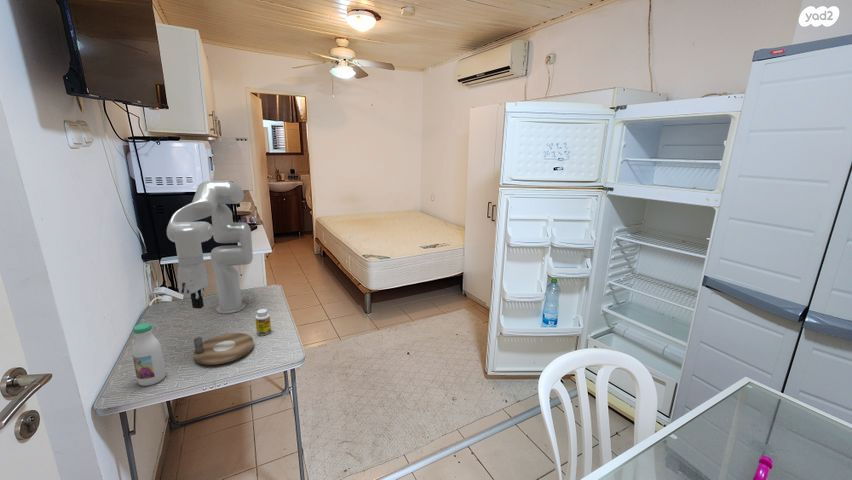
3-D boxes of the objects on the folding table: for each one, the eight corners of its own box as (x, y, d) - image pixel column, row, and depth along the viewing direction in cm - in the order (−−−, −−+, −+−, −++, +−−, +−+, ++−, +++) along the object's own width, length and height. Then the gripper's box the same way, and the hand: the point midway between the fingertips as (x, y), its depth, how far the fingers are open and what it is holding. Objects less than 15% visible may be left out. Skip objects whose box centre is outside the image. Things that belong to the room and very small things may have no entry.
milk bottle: (157, 370, 124) (147, 318, 120) (171, 375, 122) (162, 322, 117) (132, 383, 117) (121, 328, 113) (147, 389, 115) (136, 333, 110)
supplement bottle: (258, 337, 147) (255, 314, 145) (256, 331, 152) (253, 309, 149) (272, 333, 150) (270, 311, 148) (270, 328, 155) (267, 306, 152)
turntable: (193, 345, 138) (190, 329, 137) (249, 331, 149) (247, 316, 147) (195, 371, 122) (192, 353, 121) (257, 353, 133) (255, 337, 131)
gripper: (195, 254, 134) (201, 298, 138) (164, 266, 119) (173, 316, 124) (214, 254, 133) (220, 299, 138) (186, 267, 119) (194, 317, 123)
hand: (198, 307), depth 131 cm, fingers closed
